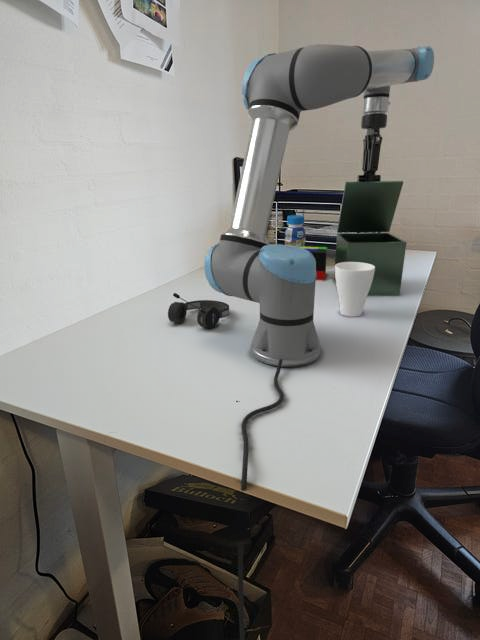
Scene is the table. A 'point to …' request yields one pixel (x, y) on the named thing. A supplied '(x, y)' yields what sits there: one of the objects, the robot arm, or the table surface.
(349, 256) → the bin
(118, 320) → the table surface
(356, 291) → the cup
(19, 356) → the table surface
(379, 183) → the bin lid
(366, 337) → the table surface
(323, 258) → the puzzle toy
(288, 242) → the beverage bottle
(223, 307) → the headset
